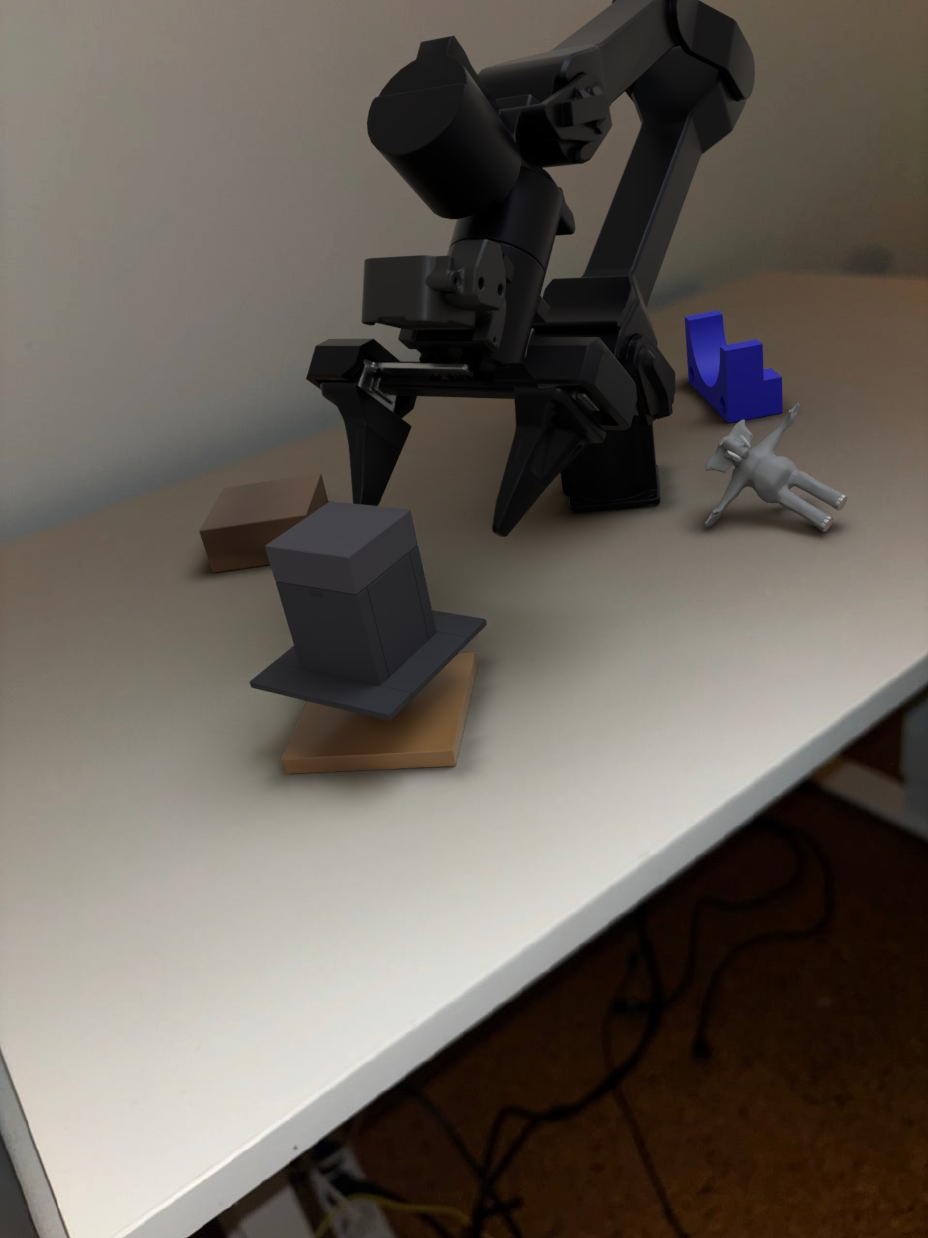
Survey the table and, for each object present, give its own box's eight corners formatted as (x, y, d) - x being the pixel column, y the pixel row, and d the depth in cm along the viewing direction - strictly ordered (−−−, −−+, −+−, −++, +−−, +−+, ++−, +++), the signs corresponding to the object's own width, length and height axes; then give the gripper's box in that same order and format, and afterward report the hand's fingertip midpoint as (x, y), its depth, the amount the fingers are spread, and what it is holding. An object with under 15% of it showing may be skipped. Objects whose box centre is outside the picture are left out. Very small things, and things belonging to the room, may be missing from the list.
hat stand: (478, 666, 59) (451, 524, 54) (455, 766, 51) (422, 610, 47) (328, 676, 60) (290, 539, 56) (285, 774, 53) (237, 625, 48)
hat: (354, 602, 59) (324, 482, 55) (487, 625, 54) (463, 495, 51) (251, 688, 53) (208, 559, 49) (390, 721, 48) (355, 582, 44)
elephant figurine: (779, 567, 63) (666, 493, 67) (795, 591, 68) (688, 521, 72) (883, 434, 62) (760, 368, 66) (890, 469, 67) (777, 405, 72)
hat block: (331, 512, 82) (321, 472, 80) (317, 557, 75) (306, 514, 73) (235, 527, 83) (222, 487, 81) (212, 573, 76) (198, 530, 74)
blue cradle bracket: (782, 412, 84) (781, 340, 81) (728, 422, 84) (725, 350, 81) (736, 372, 95) (734, 306, 92) (688, 381, 95) (684, 316, 92)
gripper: (283, 195, 57) (204, 461, 54) (589, 163, 47) (506, 487, 45) (394, 298, 66) (329, 528, 64) (668, 289, 56) (602, 561, 54)
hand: (427, 526), depth 56 cm, fingers open, 9 cm apart
